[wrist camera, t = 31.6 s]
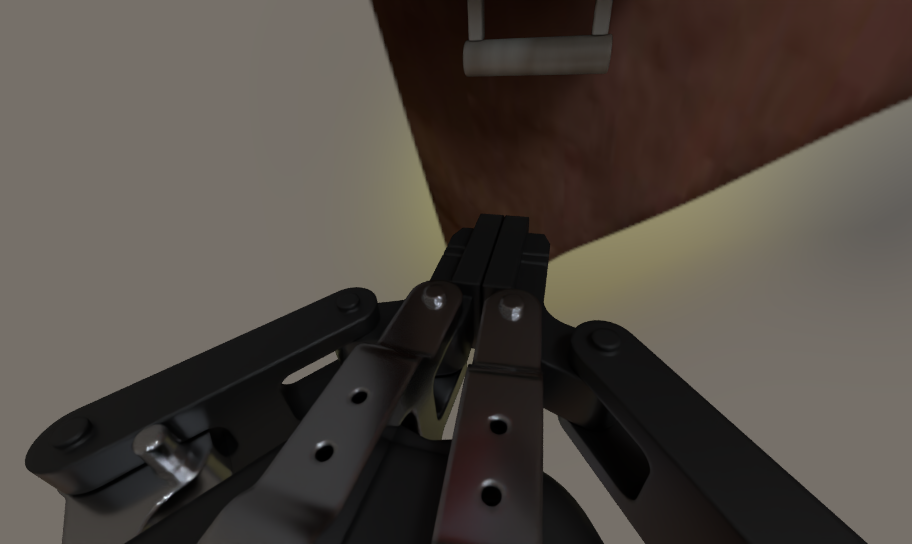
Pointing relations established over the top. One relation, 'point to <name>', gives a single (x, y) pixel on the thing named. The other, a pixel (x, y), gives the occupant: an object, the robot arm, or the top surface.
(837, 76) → the top surface
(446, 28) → the top surface
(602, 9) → the drawer
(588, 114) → the top surface
